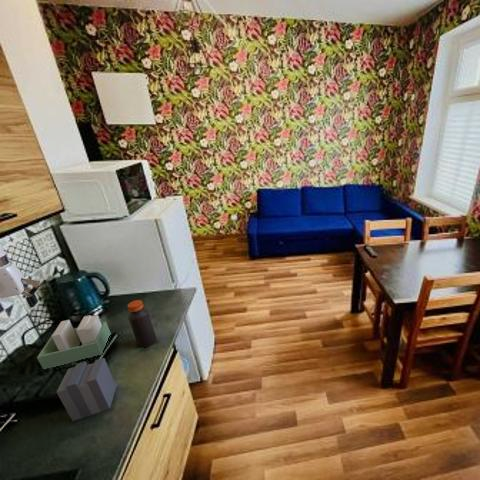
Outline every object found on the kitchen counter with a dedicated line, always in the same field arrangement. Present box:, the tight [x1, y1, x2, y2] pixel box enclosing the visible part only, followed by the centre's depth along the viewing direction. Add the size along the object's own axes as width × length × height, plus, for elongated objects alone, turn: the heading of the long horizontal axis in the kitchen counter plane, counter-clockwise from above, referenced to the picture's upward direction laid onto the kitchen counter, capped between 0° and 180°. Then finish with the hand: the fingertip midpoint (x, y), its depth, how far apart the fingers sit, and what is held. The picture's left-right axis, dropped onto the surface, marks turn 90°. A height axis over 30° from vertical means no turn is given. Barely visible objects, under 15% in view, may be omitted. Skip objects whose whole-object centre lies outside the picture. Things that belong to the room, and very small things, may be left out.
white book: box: [51, 319, 80, 351], centre depth 104 cm, size 2×9×13 cm, turn 24°
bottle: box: [127, 299, 158, 349], centre depth 109 cm, size 7×7×20 cm
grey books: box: [56, 357, 117, 422], centre depth 85 cm, size 10×9×14 cm
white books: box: [76, 314, 102, 345], centre depth 107 cm, size 4×9×13 cm, turn 24°
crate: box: [36, 321, 112, 370], centre depth 106 cm, size 18×14×8 cm
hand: (15, 308), depth 89 cm, fingers open, 9 cm apart
